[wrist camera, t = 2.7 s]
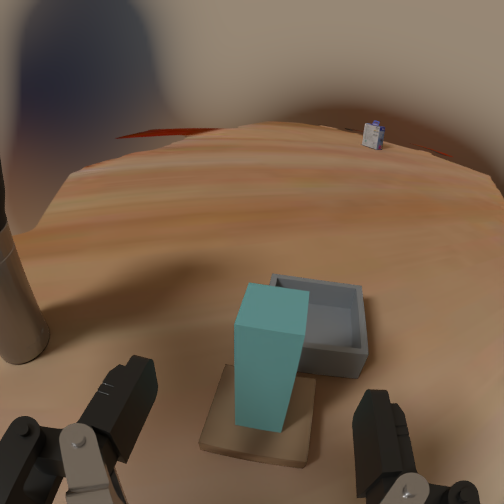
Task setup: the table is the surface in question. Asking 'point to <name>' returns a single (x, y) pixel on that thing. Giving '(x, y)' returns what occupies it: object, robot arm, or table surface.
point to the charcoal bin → (331, 327)
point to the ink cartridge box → (373, 135)
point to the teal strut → (267, 353)
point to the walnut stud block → (255, 440)
